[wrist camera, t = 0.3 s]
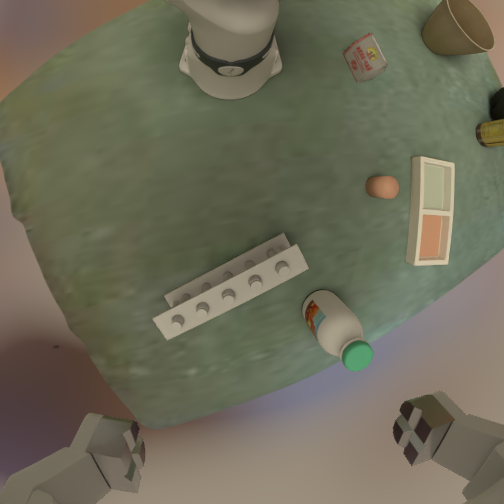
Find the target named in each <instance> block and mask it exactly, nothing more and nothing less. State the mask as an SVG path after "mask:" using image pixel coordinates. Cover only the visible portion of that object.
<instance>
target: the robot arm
mask: <svg viewBox="0 0 504 504" xmlns="http://www.w3.org/2000/svg"><path fill="white" fill-rule="evenodd" d="M164 1H166V2H168V3H169V4H171V5H173V6H175V7H176V8H178V9H179V10H181V11H182V12H183V13H184V14H186V15H187V17H188V19H189V21H190V22H189V24H188V32H190V34H189V37H187V38H186V42H185V43H186V45H185V48H184V51H183V54H182V57H181V60H180V63H179V69H180V71H181V72H183V73H184V74H186V75H188V76H190V77H191V78H192V79H193V80H194V81H195V83H196V84H197V85H198V87H199V88H200V89H201V90H203V91H204V92H205V93H207V94H209V95H211V96H213V97H216V98H220V99H227V100H233V99H240V98H244V97H247V96H249V95H251V94H253V93H255V92H256V91H258V90H259V89H260V88H261V87H262V86H263V85H264V83H265V82H266V81H267V80H268V79H269V78H270V77H272V76H274V75H276V74H278V73H279V72H281V70H282V62H281V58H280V54H279V50H278V47H277V43H276V39H275V35H274V26H275V23H276V20H277V17H278V14H279V2H278V0H164ZM185 61H186V62H185ZM400 413H401V415H400V416H399V417H398V418H397V419H396V420H395V423H394V426H393V435H394V439H395V441H396V442H397V444H398V445H400V446H402V447H404V452H403V453H404V455H405V457H406V458H407V460H408V461H409V463H410V464H411V466H413V465H416V464H419V463H422V462H424V461H427V460H430V459H432V460H433V461H434V462H436V463H438V464H440V465H442V466H443V467H445V468H447V469H449V470H451V471H452V472H454V473H456V474H458V475H460V476H462V477H464V478H466V479H467V480H469V481H470V482H469V483H468V484H467V486H466V487H465V488H464V489H463V492H462V493H463V495H464V496H465V498H466V499H467V502H465V503H464V504H504V425H502V424H499V423H496V422H492V421H489V420H486V419H483V418H480V417H477V416H473V415H471V414H469V415H466V414H465V413H464V412H463V411H462V410H461V409H460V408H459V407H458V406H457V405H456V404H455V403H454V402H453V401H452V400H451V399H450V398H449V397H448V396H447V395H446V394H445V393H444V392H443V391H437V392H433V393H430V394H428V395H424V396H421V397H417V398H414V399H411V400H407V401H404V403H403V404H402V405H401V407H400ZM139 430H140V428H139V426H138V423H137V421H135V420H128V419H122V418H116V417H111V416H105V415H98V414H94V413H89V414H87V415H86V417H85V418H84V420H83V422H82V424H81V426H80V428H79V430H78V432H77V434H76V436H75V438H74V440H73V442H72V444H71V446H70V448H67V447H64V448H63V449H61V450H59V451H57V452H55V453H54V454H52V455H50V456H48V457H46V458H45V459H42V460H40V461H39V462H37V463H35V464H33V465H31V466H29V467H27V468H25V469H23V470H21V471H19V472H17V473H15V474H13V475H11V476H10V477H9V479H8V481H7V483H6V484H5V486H4V488H3V490H2V492H1V494H0V504H96V503H97V502H98V501H99V500H100V499H102V498H103V497H104V496H105V495H106V494H107V493H108V492H109V491H110V490H111V489H115V490H120V491H126V492H133V493H138V489H139V485H140V480H141V475H140V473H139V471H138V470H139V469H141V468H142V467H143V466H144V462H145V444H144V441H143V439H142V438H141V437H140V436H139V435H138V433H139Z"/></svg>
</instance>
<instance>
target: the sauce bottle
mask: <svg viewBox="0 0 504 504" xmlns="http://www.w3.org/2000/svg"><path fill="white" fill-rule="evenodd" d="M476 136H477V139H478V141H479V142H480V144H481V145H482V146H485V147H493V146H503V145H504V119H501V120H495V121H490V122H485V123H483V124H479V125H478V126H477V128H476Z"/></svg>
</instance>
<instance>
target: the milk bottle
mask: <svg viewBox="0 0 504 504" xmlns="http://www.w3.org/2000/svg"><path fill="white" fill-rule="evenodd" d="M302 313H303V317H304V319H305V321H306V323H307V324H308V326H309V328H310V329H311V331H312V333H313V334H314V336H315V337H316V339H317V341H318V342H319V344H320V345H321V346H322V347H323V348H324V350H326V351H327V352H328V353H330V354H332V355H335V356H338V357H340V359H341V361H342V362H343V364H344V365H345V367H346V368H347V369H349V370H350V371H359V370H362V369H364V368H365V367H366V366H368V365H369V363H370V362H371V360H372V358H373V350H372V348H371V347H370V345H369V344H368V343H367V342H366V341H365V340H364V339H363V331H362V326H361V324H360V322H359V320H358V319H357V317H356V316H355V315H354V314H353V312H352V311H351V310H350V309H349V308H348V307H347V306H346V305H345V304H344V303H343V302H342V301H341V300H340V299H339V298H338V297H337V296H336V295H335V294H333V293H332V292H330V291H327V290H320V291H316V292H314V293H312V294H311V295H309V296H308V298H307V299H306V300H305V302H304V304H303V308H302Z"/></svg>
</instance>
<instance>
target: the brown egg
mask: <svg viewBox="0 0 504 504" xmlns="http://www.w3.org/2000/svg"><path fill="white" fill-rule="evenodd" d="M366 191H367V193H368V194H369V195H370V196H372V197H379V198H389V199H391V198H394V197H395V196H396V195H397V194H398V191H399V185H398V182H397V180H396V179H395V178H394V177H392V176H378V177H371V178H369V179H368V180H367V182H366Z"/></svg>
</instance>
